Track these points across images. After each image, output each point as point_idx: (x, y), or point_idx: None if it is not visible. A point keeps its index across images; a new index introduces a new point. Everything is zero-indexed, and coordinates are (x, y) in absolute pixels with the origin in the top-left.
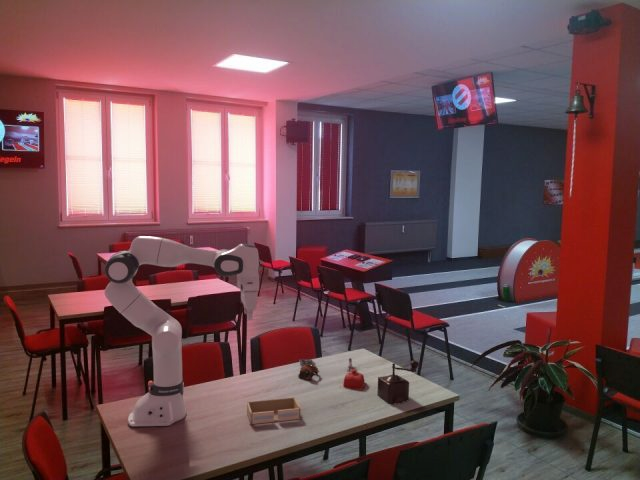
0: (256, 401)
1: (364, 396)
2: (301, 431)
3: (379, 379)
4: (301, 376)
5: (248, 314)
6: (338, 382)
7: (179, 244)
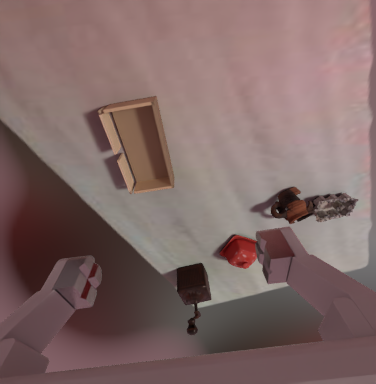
0: (156, 121)
1: (206, 253)
2: (98, 182)
3: (200, 285)
4: (287, 195)
5: (28, 306)
6: None
7: None
